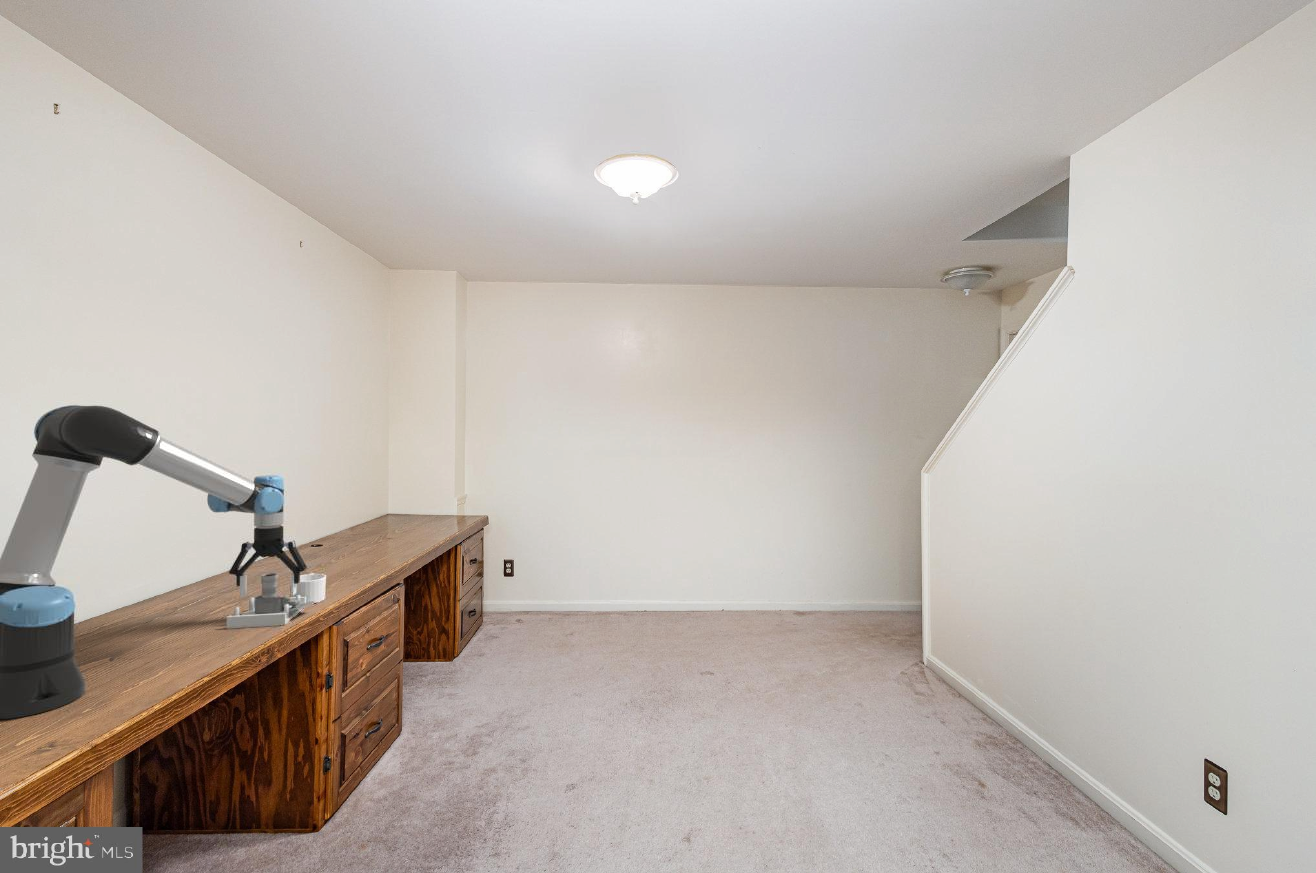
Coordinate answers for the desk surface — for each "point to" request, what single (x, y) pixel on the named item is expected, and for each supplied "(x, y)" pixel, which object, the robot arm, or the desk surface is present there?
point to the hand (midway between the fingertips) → (268, 595)
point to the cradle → (261, 616)
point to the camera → (274, 598)
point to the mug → (311, 587)
